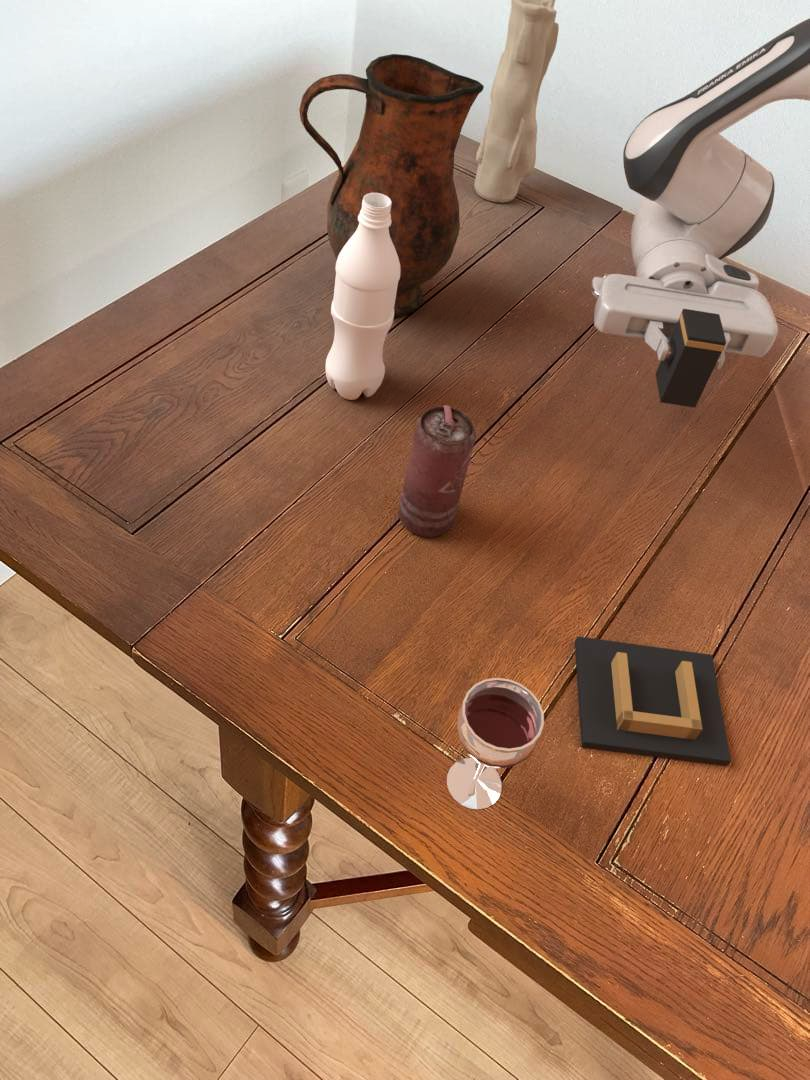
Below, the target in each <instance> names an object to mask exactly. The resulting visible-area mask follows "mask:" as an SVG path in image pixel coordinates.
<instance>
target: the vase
mask: <svg viewBox="0 0 810 1080" xmlns="http://www.w3.org/2000/svg"><path fill="white" fill-rule="evenodd" d="M555 3H556V0H511V3H510V4H511V7H510V13H509V19H508V25H507V36H506V41H505V47H504V49H503V52H502V53H501V56H500V58H499V62H498V66H497V69H496V72H495V75H494V78H493V82H492V85H491V89H490V95H489V98H490V107H489V113H488V119H487V123H486V124H485V126H484V131H483V135H482V138H481V142H480V144H479V146H478V149H477V151H476V156H475V161H476V162H477V163H478V166H477V170H476V174H475V179H474V191H475V193H476V194H477V195H478V196H479V197H481V198H482V199H485V200H486V201H489V202H494V203H509V202H511V201H512V200H514V199H515V197H517V194H518V192H519V188H520V185H521V182H522V180H523V179H525V178H528V177H530V176H531V175H532V174H533V172H534V169H535V166H536V161H537V160H536V159H537V141H538V140H537V139H538V136H537V135H538V123H537V117H536V115H537V106H538V100H539V96H540V90H541V86H542V83H543V81H544V78H545V76H546V74H547V71H548V68H549V66H550V62H551V61H552V58H553V56H554V53H555V51H556V47H557V42H558V37H559V31H560V28H559V26H560V25H559V23H558V22H556V19H557V12H558V11H557V10H556V9H555V8H554V7H555Z"/></svg>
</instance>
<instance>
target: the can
mask: <svg viewBox="0 0 810 1080" xmlns="http://www.w3.org/2000/svg"><path fill="white" fill-rule="evenodd" d="M476 437H477V433H476V430H475V425H474V423H473V420H472V419H471V418H470V417H469V415H468V414H466V413H465V412H463V411H462V410H459V409H457V408H455V407H451V406H450V405H447V404H445V405H443V406H435V407H431V408H429V409H427V410H426V411H424V412H423V413H422V414H421V416H419V418H418V419H417V421H416V423H415V428H414V432H413V437H412V441H411V446H410V447H411V448H410V452H409V457H408V463H407V467H406V471H405V478H404V482H403V486H402V487H403V488H402V493H401V497H400V502H399V506H398V512H397V513H398V517H399V520H400V522H401V523H402V525H403V526H404V527H405V529H407V530H408V531H409V532H410V533H411V534H414V535H416V536H418V537H423V538H435V537H439V536H442V535H443V534H446V532H448V531H449V530H451V528H452V527H453V524H454V521H455V518H456V514H457V510H458V506H459V502H460V499H461V495H462V491H463V487H464V485H465V480H466V477H467V472H468V470H469V466H470V462H471V457H472V454H473V450H474V448H475V447H474V446H475V443H476Z"/></svg>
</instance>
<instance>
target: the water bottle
mask: <svg viewBox="0 0 810 1080" xmlns="http://www.w3.org/2000/svg"><path fill="white" fill-rule="evenodd" d="M391 204H392V202H391V200H390V198H389V197H387V196H386V195H383V194H380V193H369V194H366V195H365V196H364V198H363V200H362V208H361V211H360V214H359V215H358V221H359V225H358V228H357V230H356V231H355V233H354V234H353V235H352V237H351V238H350V239H349V240H348V242H347V243H346V244H345V246H344V247H343V249H342V250H341V252H340V254H339V256H338V258H337V260H336V262H335V267H334V269H335V278H334V279H335V280H334V289H333V298H332V301H331V306H330V314H331V317H332V320H333V325H334V336H333V341H332V345H331V347H330V350H329V352H328V354H327V355H326V359H325V366H324V367H325V369H324V370H325V377H326V380H327V383H328V385H329V386H330V388H331V389H333V390H334V389H336V391H337V393H338V395H339V396H340V397H342V398H343V399H345V400H349V401H354V400H357V399H358V398H360V396H361V395H362V394H363V395H364V396H365V397H366V398H369V397H372V396H373V395H374V394H376V392H377V390H379V388H380V387H381V385H382V384H383V381H384V377H385V373H386V366H385V363H384V358H383V357H384V356H383V352H384V345H385V340H386V337H387V335H388V333H389V331H390V329H391V327H392V325H393V323H394V318H395V317H394V305H395V299H396V292H397V286H398V281H399V279H400V270H401V269H400V262H399V258H398V255H397V252H396V250H395V247H394V245H393V243H392V240H391V238H390V235H389V227H390V225H391V214H390V211H391Z"/></svg>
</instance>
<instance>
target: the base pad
mask: <svg viewBox="0 0 810 1080" xmlns="http://www.w3.org/2000/svg"><path fill="white" fill-rule="evenodd" d="M574 651H575V653H574V654H575V668H576V683H577V684H576V685H577V698H578V699H577V701H578V713H579V731H580V746H581V748H585V749H586V748H588V749H595V750H601V751H602V750H603V751H610V752H617V753H626V754H633V755H640V756H649V757H656V758H657V757H658V758H663V759H670V760H677V761H686V762H694V763H702V764H710V765H716V766H717V765H718V766H724V767H725V766H726V767H727V766H728V765H729V764H730V763H731V760H732V759H731V754H730V748H729V743H728V737H727V732H726V731H727V730H726V726H725V719H724V715H723V709H722V708H723V707H722V702H721V698H720V691H719V685H718V679H717V675H716V670H715V669H716V668H715V664H714V658H713V654H709V653H701V652H694V651H687V650H680V649H673V648H665V647H660V646H659V647H658V646H651V645H643V644H636V643H630V642H629V643H628V642H621V641H616V640H615V641H614V640H607V639H599V638H593V637H587V636H586V637H585V636H576V638H575V641H574Z"/></svg>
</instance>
